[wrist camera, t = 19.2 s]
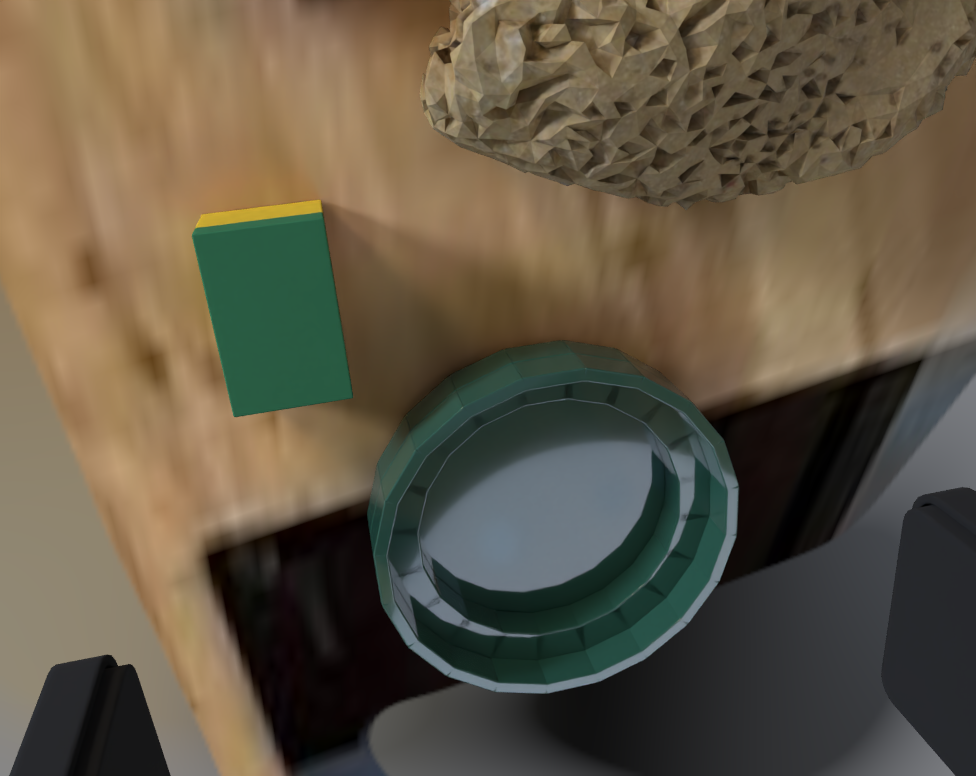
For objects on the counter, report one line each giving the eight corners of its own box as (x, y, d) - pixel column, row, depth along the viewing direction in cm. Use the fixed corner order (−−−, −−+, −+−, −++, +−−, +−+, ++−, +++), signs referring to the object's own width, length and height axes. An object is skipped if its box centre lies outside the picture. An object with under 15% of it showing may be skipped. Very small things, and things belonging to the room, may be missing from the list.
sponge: (413, 159, 34) (878, 268, 36) (403, 135, 26) (996, 276, 28) (485, -191, 32) (974, -58, 34) (497, -328, 24) (1131, -146, 26)
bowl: (342, 368, 36) (348, 406, 32) (703, 312, 38) (745, 341, 35) (392, 666, 42) (401, 726, 39) (697, 602, 45) (732, 652, 41)
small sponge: (201, 214, 32) (191, 234, 29) (320, 199, 33) (323, 217, 30) (239, 382, 35) (233, 418, 32) (348, 365, 36) (353, 398, 32)
